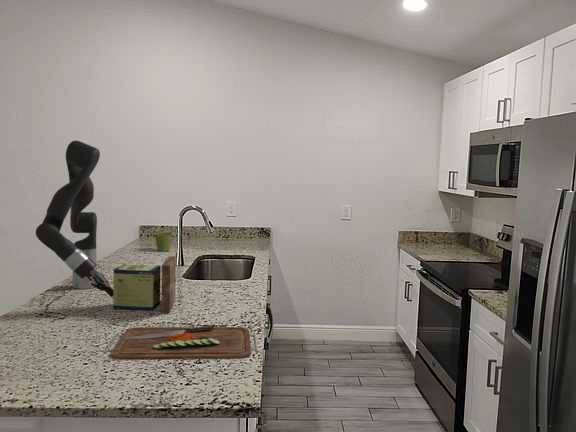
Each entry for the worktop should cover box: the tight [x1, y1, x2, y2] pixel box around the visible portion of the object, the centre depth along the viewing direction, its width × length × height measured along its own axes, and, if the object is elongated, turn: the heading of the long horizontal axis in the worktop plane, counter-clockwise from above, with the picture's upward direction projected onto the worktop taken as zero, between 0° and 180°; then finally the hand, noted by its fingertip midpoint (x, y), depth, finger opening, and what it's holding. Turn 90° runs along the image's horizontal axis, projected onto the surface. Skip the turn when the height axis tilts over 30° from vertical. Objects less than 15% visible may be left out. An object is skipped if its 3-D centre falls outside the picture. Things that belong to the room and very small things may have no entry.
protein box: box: [112, 264, 162, 312], centre depth 200 cm, size 10×16×16 cm
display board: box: [160, 255, 177, 314], centre depth 202 cm, size 3×20×18 cm, turn 6°
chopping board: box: [103, 325, 259, 360], centre depth 162 cm, size 45×27×3 cm, turn 96°
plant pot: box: [153, 232, 174, 253], centre depth 332 cm, size 12×12×11 cm
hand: (114, 295), depth 199 cm, fingers closed
